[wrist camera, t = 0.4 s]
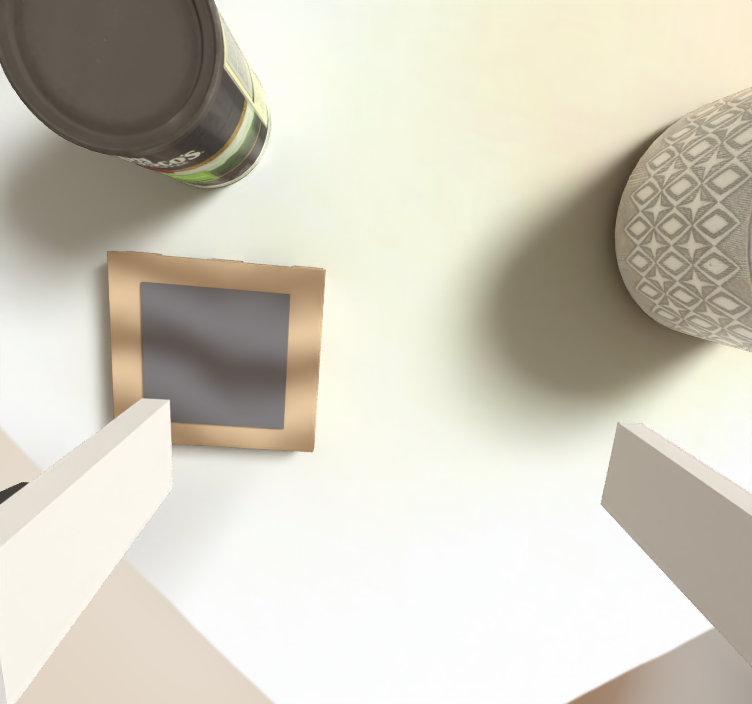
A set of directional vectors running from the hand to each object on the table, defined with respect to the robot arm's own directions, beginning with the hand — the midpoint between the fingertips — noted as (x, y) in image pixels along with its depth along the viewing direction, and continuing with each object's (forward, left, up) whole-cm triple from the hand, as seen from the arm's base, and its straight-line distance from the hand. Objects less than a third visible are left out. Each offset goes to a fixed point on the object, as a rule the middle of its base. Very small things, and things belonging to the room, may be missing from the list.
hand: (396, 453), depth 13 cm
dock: (+4, -12, -26) cm, 29 cm away
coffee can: (-14, -14, -26) cm, 33 cm away
